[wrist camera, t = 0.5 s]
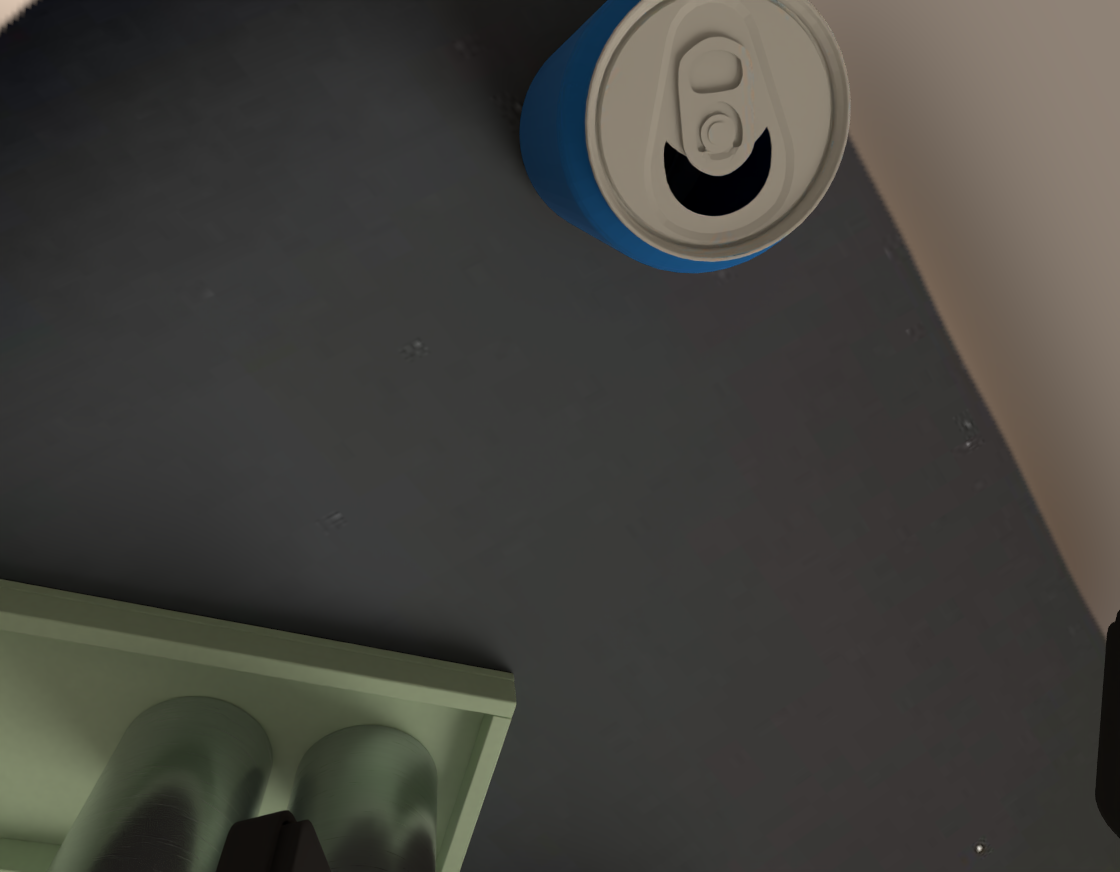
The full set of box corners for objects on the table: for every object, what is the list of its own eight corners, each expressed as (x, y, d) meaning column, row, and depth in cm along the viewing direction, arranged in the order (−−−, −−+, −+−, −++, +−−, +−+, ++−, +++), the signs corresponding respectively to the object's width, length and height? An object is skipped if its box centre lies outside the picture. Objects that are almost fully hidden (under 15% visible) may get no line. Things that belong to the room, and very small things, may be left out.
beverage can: (531, 244, 29) (584, 302, 17) (504, 44, 26) (544, -38, 15) (708, 218, 29) (870, 258, 18) (695, 19, 27) (872, -78, 16)
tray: (-233, 535, 29) (-282, 562, 27) (513, 673, 34) (517, 702, 33) (-239, 813, 32) (-282, 853, 30) (439, 895, 38) (438, 933, 36)
